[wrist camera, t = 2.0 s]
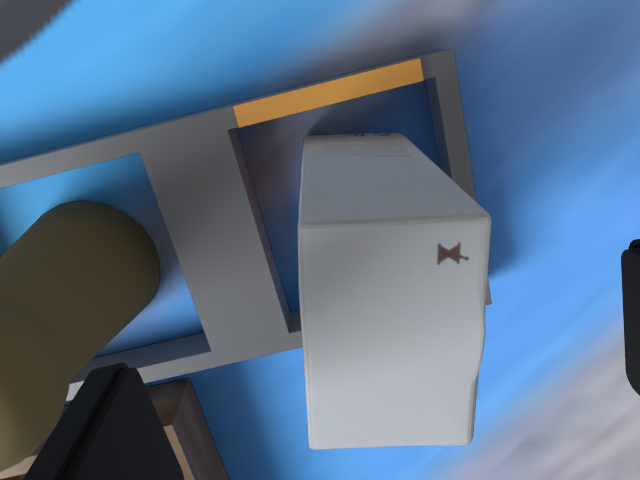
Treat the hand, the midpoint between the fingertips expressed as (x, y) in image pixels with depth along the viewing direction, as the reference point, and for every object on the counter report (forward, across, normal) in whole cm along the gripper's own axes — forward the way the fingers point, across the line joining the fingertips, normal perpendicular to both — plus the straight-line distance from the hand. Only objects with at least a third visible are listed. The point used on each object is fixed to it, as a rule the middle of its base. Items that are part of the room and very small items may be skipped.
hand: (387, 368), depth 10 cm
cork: (+14, +12, +1) cm, 18 cm away
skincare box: (+14, 0, +1) cm, 14 cm away
